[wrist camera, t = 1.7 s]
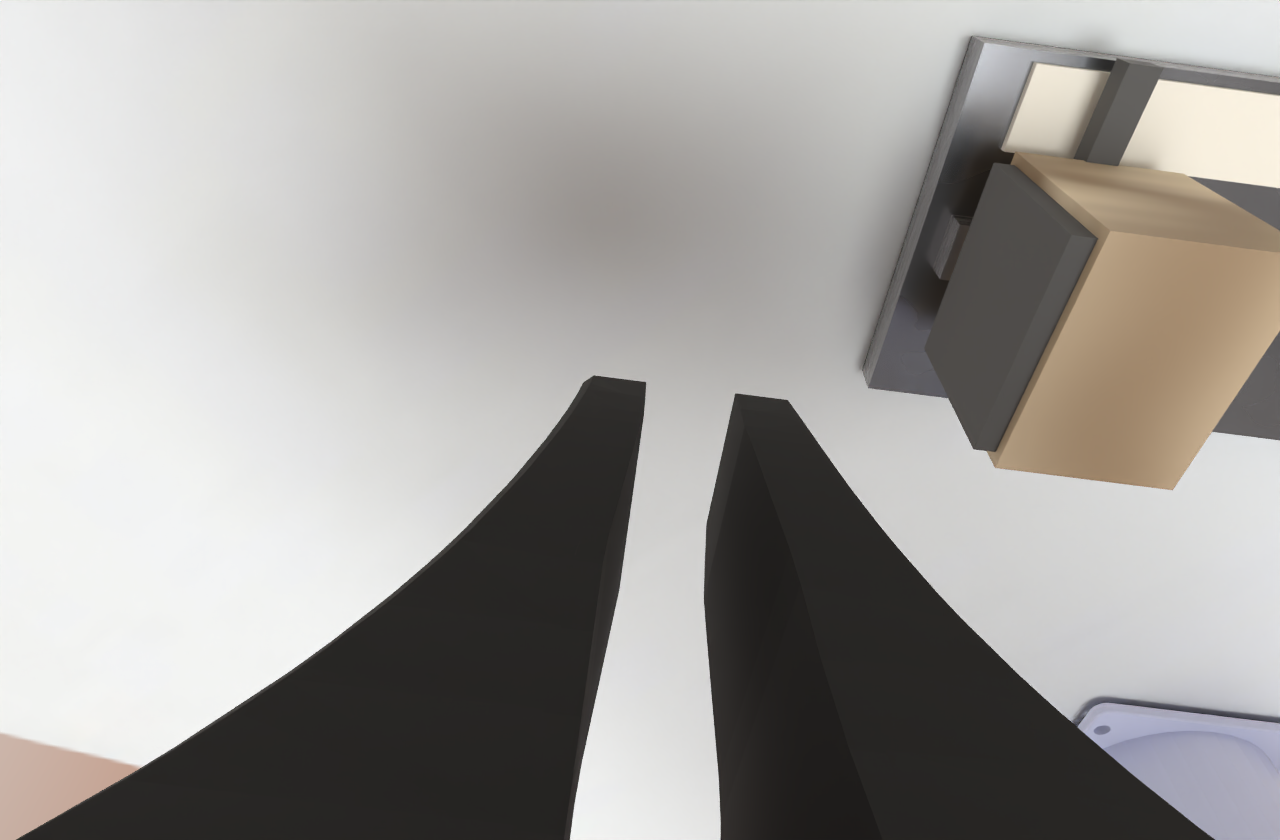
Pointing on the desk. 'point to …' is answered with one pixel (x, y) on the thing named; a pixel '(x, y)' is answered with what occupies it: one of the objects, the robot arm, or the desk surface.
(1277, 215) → the gauge bed
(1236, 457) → the desk surface
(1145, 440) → the gauge slider
